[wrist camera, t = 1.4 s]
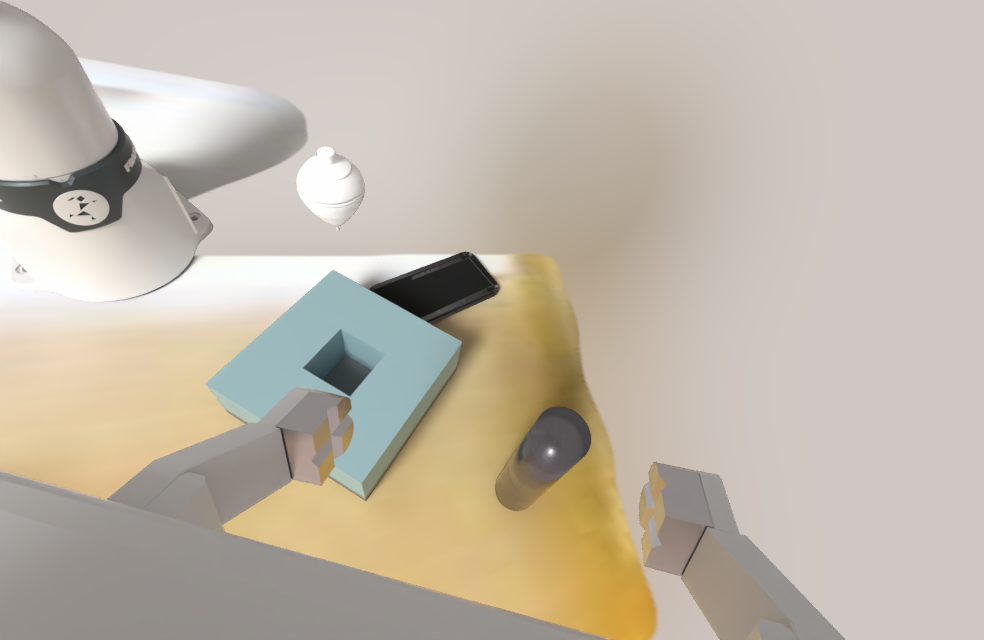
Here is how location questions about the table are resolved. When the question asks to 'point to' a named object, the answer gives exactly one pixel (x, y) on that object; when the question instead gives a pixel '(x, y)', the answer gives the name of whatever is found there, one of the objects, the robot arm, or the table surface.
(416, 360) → the hole block
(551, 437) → the pin
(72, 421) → the table surface
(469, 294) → the phone
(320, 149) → the spinning top
